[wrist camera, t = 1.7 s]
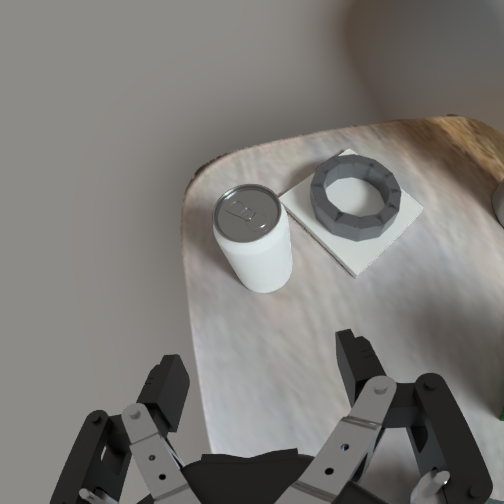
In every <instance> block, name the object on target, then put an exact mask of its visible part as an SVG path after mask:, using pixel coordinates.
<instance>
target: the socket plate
mask: <svg viewBox="0 0 504 504" xmlns="http://www.w3.org/2000/svg"><path fill="white" fill-rule="evenodd" d="M350 154H356V153H355V152H353V151H352V150H351V149H347V150H346V151H344V152H343V153H342V154H340V155H339V156H342V155H350ZM356 155H358V154H356ZM314 174H315V172H314V173H313V174H311V175H310V176H309V177H307V178H306V179H304V180H303V181H301V182H300V183H299V184H297V185H296V186H294V187H293V188H292V189H290V190H289V191H287V192H286V193H285V194H283V195H282V196H280V197H279V200H280V202H281V203H282V204H283V206H284V208H285V210H286V211H287V212H289V213H290V214H291V215H292V216H293V217H294V218H295V219H296V220H297V221H298V222H299V223H300V224H301V225H302V226H303V227H304V228H305V229H306V230H307V231H308V232H309V233H310V234H311V235H312V236H314V237H315V238H316V239H317V240H318V241H319V242H320V243H321V244H322V245H323V246H324V247H325V248H326V249H327V250H328V251H329V252H330V253H331V254H332V255H333V256H334V257H335V258H336V259H337V260H338V261H339V262H340V263H341V264H342V265H343V266H344V267H345V268H346V269H347V271H348V272H349V273H350V274H351V275H352V276H353V277H354V278H355V279H356V278H357V277H358V276H359V275H360V274H361V273H362V272H363V271H364V270H365V269H366V268H367V267H368V266H369V265H370V264H371V263H372V262H373V261H375V260H376V259H377V258H378V257H379V256H380V255H381V254H382V253H383V252H384V251H385V250H386V249H387V248H388V247H389V246H390V245H391V244H392V243H393V242H394V241H395V240H396V238H397V237H398V236H399V235H400V234H401V233H402V232H403V231H404V230H405V229H406V228H407V227H408V226H409V225H410V224H411V223H412V222H413V221H414V219H415V218H416V217H417V216H418V215H419V214H420V213H421V212H422V210H423V207H422V206H421V205H420V204H419V203H417V202H416V201H415V200H414V199H413V198H412V197H411V196H409V195H408V194H407V193H406V192H405V191H404V190H402V189H401V188H400V189H401V191H402V192H401V201H400V209H399V212H398V214H397V216H396V218H395V221H394V223H393V224H392V225H391V226H390V227H389V228H388V229H387V230H386V231H385V232H384V233H383V234H382V235H381V236H380V237H379V238H374V239H369V240H363V241H358V242H355V241H352V240H349V239H345V238H342V237H339V236H335V235H333V234H331V233H330V232H329V231H328V230H327V229H326V228H325V227H324V226H323V225H322V224H321V223H320V222H319V221H318V220H317V219H316V217H315V214H314V210H313V207H312V203H311V200H310V185H311V182H312V180H313V177H314ZM326 194H327V197H328V200H329V201H330V202H331V203H333V204H334V205H335V206H336V207H337V208H338V209H339V210H341V211H342V212H345V213H348V214H352V215H355V216H358V217H363V216H368V215H374V214H378V213H379V212H380V211H381V210H382V209H383V208H384V206H385V204H384V201H383V199H382V197H381V195H380V192H379V191H378V190H377V189H376V188H375V187H373V186H372V185H371V184H370V183H368V182H367V181H364V180H360V179H356V178H353V177H351V178H344V179H338V180H336V181H335V182H334V183H332V184H331V185H330V186H328V187H327V188H326Z"/></svg>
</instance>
